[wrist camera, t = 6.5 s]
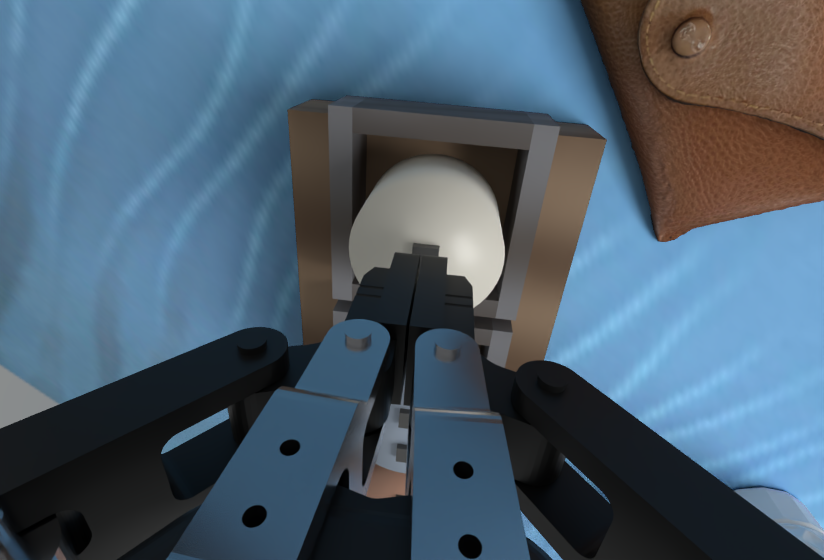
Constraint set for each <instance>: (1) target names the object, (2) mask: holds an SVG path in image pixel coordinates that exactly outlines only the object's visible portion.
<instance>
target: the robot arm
mask: <svg viewBox="0 0 824 560" xmlns="http://www.w3.org/2000/svg"><path fill="white" fill-rule="evenodd" d="M447 261H448V257H439V256H429V255H422V260H421V265H420V255H419V254H409V253H399V252H395V253H394V257H393V260H392V263H391V266H390V268H381V267H374V268H373V269H371V270H370V271H368V272H367V273H366V274H364V276H363V278H362V280H361V283H360V287H359V288H358V290H357V292H356V295H355V297H354V300H353V302H352V305H351V307H350V309H349V312H348V314H347V317H346V319H345V321H343V322H340V323H338V324H336V325H334V326H333V327H332V328H331V329H330V330H329V331H328V332H327V334H326V336H325V337H324V339H323V341H322V342H319V343H315V344H309V345H300V346H290V347H288V342H287V339H286V337H285V336H284V335H283V334H282V333H281V332H279V331H277V330H275V329H271V328H266V327H253V328H247V329H243V330H240V331H237V332H234V333H232V334H230V335H227V336H225V337H222V338H220V339H217V340H215V341H213V342H210V343H208V344H205V345H203V346H200V347H198V348H196V349H193V350H191V351H188V352H186V353H183V354H181V355H178V356H176V357H174V358H171V359H169V360H166V361H164V362H161V363H159V364H157V365H154V366H152V367H149V368H147V369H144V370H142V371H140V372H137V373H135V374H132V375H130V376H127V377H125V378H122V379H120V380H118V381H115V382H113V383H110V384H108V385H105V386H103V387H101V388H98V389H96V390H93V391H91V392H88V393H86V394H84V395H81V396H79V397H76V398H74V399H71V400H69V401H66V402H64V403H62V404H59V405H57V406H54V407H52V408H50V409H47V410H45V411H42V412H40V413H37V414H35V415H32V416H30V417H28V418H25V419H23V420H20V421H18V422H15V423H13V424H11V425H8V426H6V427H3V428H1V429H0V560H552V559H551V557H550V556H549V555H548V554H547V553H546V552H545V551H543V550H542V549H541V548H540V547H539V546H537V545H536V544H535V543H534V542H533V541H531V540H530V539H529V538H527V537H526V536H525V531H524V526H523V521H522V516H521V512H522V513H523V514H524V515H525V516H526V517H527V519H528V520H529V521H530V522H531V523H532V524H533V525H534V527H535V528H536V529H537V530H538V531H539V532H540V534H541V535H542V536H543V537H544V538H545V539H546V541H547V542H548V543H549V544H550V545H551V546H552V547H553V549H554V550H555V551H556V552H557V553H558V554H559V556H560V557H561V558H562V559H563V560H824V558H823V557H822V556H821V555H819V554H818V553H816V552H815V551H814V550H812V549H811V548H810V547H808V546H807V545H806V544H804V543H803V542H802V541H800V540H799V539H798V538H796V537H795V536H794V535H792V534H791V533H790V532H788V531H787V530H786V529H784V528H783V527H782V526H780V525H779V524H778V523H776V522H775V521H774V520H772V519H771V518H770V517H768V516H767V515H766V514H764V513H763V512H761V511H760V510H759V509H757V508H756V507H755V506H753V505H752V504H751V503H749V502H748V501H747V500H745V499H744V498H743V497H741V496H740V495H739V494H737V493H736V492H735V491H733V490H732V489H731V488H729V487H728V486H727V485H725V484H724V483H723V482H721V481H720V480H719V479H717V478H716V477H715V476H713V475H712V474H710V473H709V472H708V471H706V470H705V469H704V468H702V467H701V466H700V465H698V464H697V463H696V462H694V461H693V460H692V459H690V458H689V457H688V456H686V455H685V454H684V453H682V452H681V451H680V450H678V449H677V448H676V447H674V446H673V445H672V444H670V443H669V442H668V441H666V440H665V439H664V438H662V437H661V436H659V435H658V434H657V433H655V432H654V431H653V430H651V429H650V428H649V427H647V426H646V425H645V424H643V423H642V422H641V421H639V420H638V419H637V418H635V417H634V416H633V415H631V414H630V413H629V412H627V411H626V410H625V409H623V408H622V407H621V406H619V405H618V404H617V403H615V402H614V401H613V400H611V399H610V398H609V397H607V396H606V395H604V394H603V393H602V392H600V391H599V390H598V389H596V388H595V387H594V386H592V385H591V384H590V383H588V382H587V381H586V380H584V379H583V378H582V377H580V376H579V375H578V374H576V373H575V372H574V371H572V370H571V369H569V368H567V367H565V366H563V365H560V364H558V363H555V362H551V361H544V360H535V361H529V362H526V363H524V364H523V365H521V366H520V367H519V368H518V370H517V372H515V371H512V370H509V369H506V368H503V367H501V366H498V365H496V364H494V363H492V362H490V361H489V360H487V359H486V358H485V357H484V356H483V355H482V354H481V353H480V349H479V346H478V344H477V343H476V342H475V333H474V309H473V286H472V285H471V284H470V282H469V281H468V280H467V279H466V277H465V276H457V275H448V274H447ZM419 269H420V271H419ZM405 375H406V377H405ZM404 381H405V390H404V403H403V405H406V406H410V412H409V423H408V435H407V457H406V480H405V496H398V497H388V498H370V497H367V496H366V495H367V491H368V488H369V484H370V481H371V478H372V474H373V471H374V467H375V464H376V461H377V457H378V454H379V450H380V447H381V444H382V440H383V437H384V433H385V428H386V420H387V419H388V416H389V411H390V406H391V404H396V405H401V399H402V393H403V387H404ZM225 408H228V413H229V419H227V420H226V421H224V422H222V423H220V424H218V425H216V426H214V427H213V428H211V429H209V430H207V431H205V432H203V433H202V434H200V435H198V436H196V437H194V438H192V439H190V440H189V441H187V442H185V443H183V444H181V445H179V446H177V447H176V448H174V449H172V450H170V451H168V452H166V453H164V454H161V452H162V449H163V447H164V445H165V444H166V443H167V442H168V440H170V439H171V438H172V437H173V436H174V435H176V434H178V433H179V432H181V431H183V430H185V429H187V428H189V427H191V426H193V425H195V424H196V423H198V422H200V421H202V420H204V419H206V418H208V417H210V416H212V415H214V414H216V413H218V412H219V411H221V410H223V409H225ZM565 458H567V459H568V460H569V461H570V462H571V463H573V464H574V465H575V466H576V467H577V468H578V469H579V470H580V471H581V472H582V473H583V474H584V475H585V476H586V477H587V478H589V479H590V480H591V481H592V482H593V483H594V484H595V485H596V486H597V487H598V488H599V489H600V490H601V491H602V492H603V493H604V494H605V495H606V497H607V498H608V500H609V502H610V503H609V502H608V501H606V500H605V499H604V498H603V497H602V496H601V495H600V494H599V493H598V492H597V491H596V490H595V489H594V488H593V487H592V486H591V485H590V484H589V483H587V482H586V481H585V480H584V479H583V478H582V477H581V476H580V475H579V474H578V473H577V472H576V471H575V470H574V469H573V468H572V467H571V466H569V465H568V464H567V463H566V462H565ZM520 510H521V511H520Z"/></svg>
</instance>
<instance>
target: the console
mask: <svg viewBox="0 0 824 560" xmlns="http://www.w3.org/2000/svg"><path fill="white" fill-rule="evenodd" d="M288 124H289V138H290V153H291V168H292V183H293V198H294V212H295V227H296V242H297V257H298V272H299V286H300V301H301V316H302V331H303V345H309V344H315V343H319V342H322V341H323V339H324V337H325V336H326V334H327V332H328V331H329V330H330V329H331V328H332V327H333V326H334V325H336V324H338V323H340V322H343V321H345V319H346V317H347V314H348V312H349V309H350V307H351V305H352V302H353V300H354V297H355V295H356V292H357V290H358V288H359V287H360V283H359V282H358V280H357V278H356V276H355V274H354V271H353V268H352V266H351V261H350V257H349V238H350V233H351V229H352V226H353V224H354V221H355V219H356V217H357V215H358V214H359V212H360V210H361V209H362V207H363V205H364V204H365V202H366V200H367V199H368V197H369V195H370V194H371V192H372V190H373V189H374V187H375V185H376V184H377V182H378V181H379V179H380V178H381V177H382V175H383V174H384V173H385V172H386V171H387V170H389V169H390V168H391V167H393V166H394V165H395V164H397V163H399V162H400V161H402V160H404V159H407V158H410V157H413V156H417V155H422V154H442V155H448V156H451V157H454V158H457V159H460V160H462V161H464V162H466V163H467V164H469V165H471V166H472V167H473V168H475V169H476V170H477V171H478V172H479V173H480V174H481V175H482V176H483V177H484V178H485V179H486V181H487V182H488V184H489V185H490V186H491V188H492V191H493V193H494V195H495V198H496V201H497V205H498V211H499V217H500V223H501V228H502V234H503V240H504V246H505V258H504V265H503V269H502V273H501V275H500V278H499V280H498V282H497V284H496V285H495V287H494V289H493V290H492V291H491V293H490V294H489V295H488V296H487V297H486V298H485V299H484V300H483V301H482V302H481V303H480V304H478V305H477V306H476V307H474V308H473V309H474V333H475V342H476V343H477V344H478V346H479V349H480V353H481V354H482V355H483V356H484V357H485V358H486V359H487V360H489V361H490V362H492V363H494V364H496V365H498V366H501V367H503V368H506V369H509V370H512V371H515V372H517V370H518V368H519V367H520V366H521V365H523V364H524V363H526V362H529V361H535V360H544V358H545V354H546V351H547V347H548V344H549V340H550V337H551V333H552V330H553V326H554V323H555V319H556V316H557V312H558V309H559V305H560V302H561V298H562V295H563V291H564V288H565V284H566V281H567V277H568V274H569V270H570V267H571V263H572V260H573V256H574V253H575V249H576V246H577V242H578V239H579V235H580V232H581V228H582V225H583V221H584V218H585V214H586V211H587V207H588V204H589V200H590V197H591V193H592V190H593V186H594V183H595V179H596V176H597V172H598V169H599V165H600V162H601V158H602V155H603V151H604V148H605V144H606V141H607V140H606V139H605V138H604V137H603V136H601V135H600V134H599V133H597V132H596V131H595V130H593V129H592V128H591V127H590V126H588V125H584V124H574V123H563V122H555V121H554V120H553V119H552V118H551V117H550V116H549V115H548V114H544V113H533V112H523V111H512V110H501V109H490V108H479V107H468V106H457V105H446V104H435V103H425V102H414V101H403V100H392V99H381V98H370V97H359V96H348V95H346V96H344V97H342V98H340V99H338V100H337V101H326V100H315V99H311V100H309V101H306V102H304V103H302V104H299V105H297V106H295V107H292V108H290V109H288Z"/></svg>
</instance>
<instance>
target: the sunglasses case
mask: <svg viewBox="0 0 824 560" xmlns="http://www.w3.org/2000/svg"><path fill="white" fill-rule="evenodd" d="M581 3H582V6H583V8H584V11H585V14H586V16H587V18H588V21H589V24H590V28H591V31H592V33H593V35H594V38H595V41H596V43H597V46H598V49H599V52H600V54H601V56H602V61H603V64H604V65H605V67H606V70H607V73H608V77H609V81H610V84H611V87H612V88H613V90H614V93H615V96H616V99H617V101H618V105H619V107H620V110H621V114H622V118H623V120H624V122H625V125H626V129H627V131H628V133H629V137H630V139H631V142H632V148H633V150H634V151H635V155H636V158H637V161H638V164H639V168H640V170H641V174H642V177H643V182H644V186H645V190H646V193H647V197H648V201H649V206H650V211H651V220H652V225H653V230H654V233H655V235H656V238H657V240H658V241H660V242H667V241H671V240H675V239H676V238H678V237H679V236H681V235H683V234H685V233H687V232H688V231H690V230H691V229H694V228H697V227H702V226H706V225H710V224H715V223H719V222H724V221H729V220H734V219H737V218H744V217H748V216H753V215H759V214H762V213H765V212H770V211H774V210H783V209H786V208H788V207H794V206H799V205H802V204H808V203H814V202H820V201H823V200H824V0H581Z"/></svg>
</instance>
